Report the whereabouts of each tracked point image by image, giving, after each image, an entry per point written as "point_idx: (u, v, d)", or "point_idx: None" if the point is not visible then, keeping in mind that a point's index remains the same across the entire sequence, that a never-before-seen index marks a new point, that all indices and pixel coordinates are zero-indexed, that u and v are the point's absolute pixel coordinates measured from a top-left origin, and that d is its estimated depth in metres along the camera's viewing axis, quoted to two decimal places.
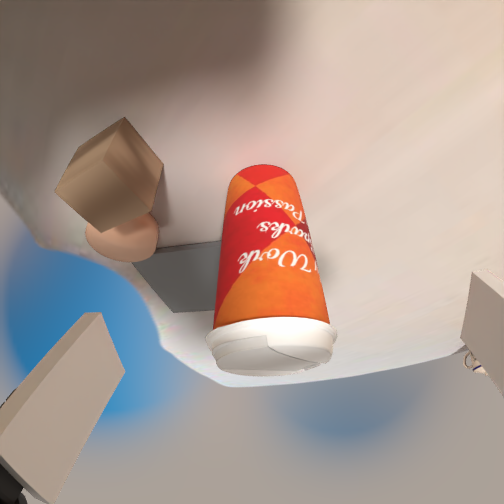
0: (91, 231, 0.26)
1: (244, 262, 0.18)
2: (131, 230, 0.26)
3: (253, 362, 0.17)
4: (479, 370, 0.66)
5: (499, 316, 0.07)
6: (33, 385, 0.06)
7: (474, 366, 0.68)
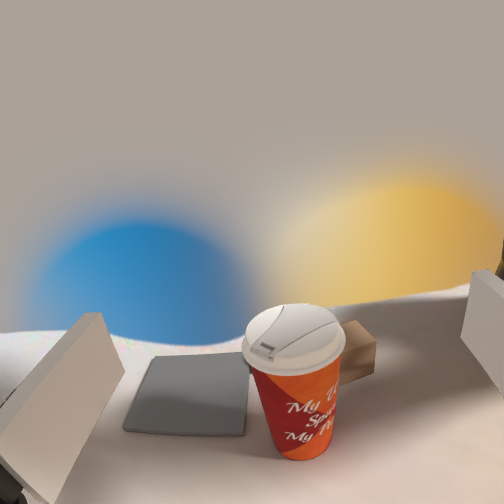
0: None
1: None
2: None
3: (300, 317, 0.23)
4: None
5: (499, 316, 0.07)
6: (33, 385, 0.06)
7: None
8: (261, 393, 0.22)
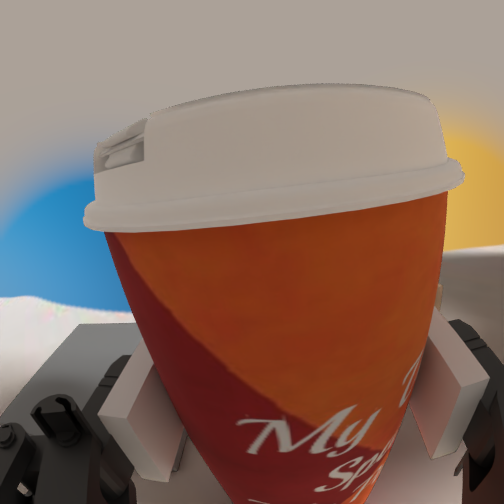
0: None
1: None
2: None
3: None
4: None
5: None
6: None
7: None
8: (158, 372, 0.06)
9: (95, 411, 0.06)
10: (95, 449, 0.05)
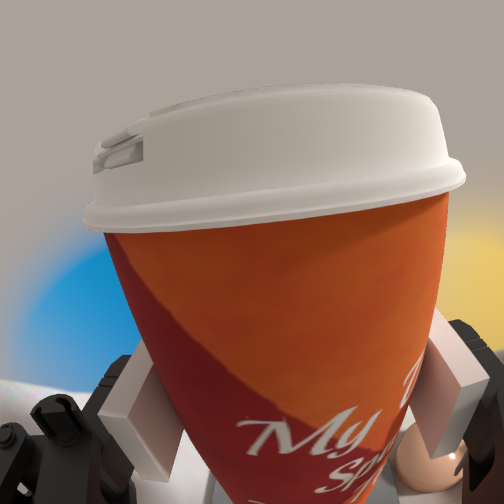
0: None
1: None
2: None
3: None
4: None
5: None
6: None
7: None
8: (158, 373, 0.06)
9: (95, 411, 0.06)
10: (95, 449, 0.05)
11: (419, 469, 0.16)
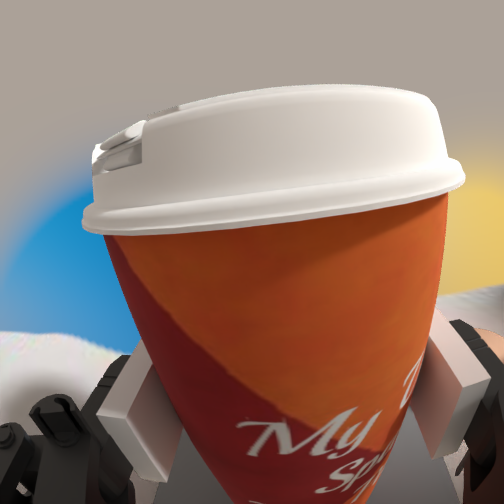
0: None
1: None
2: (488, 342, 0.15)
3: None
4: None
5: None
6: None
7: None
8: (158, 374, 0.06)
9: (94, 412, 0.06)
10: (94, 449, 0.05)
11: None
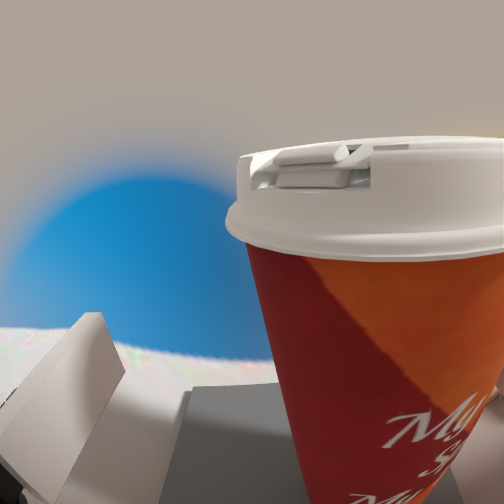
0: None
1: None
2: None
3: (401, 138, 0.07)
4: None
5: None
6: (33, 385, 0.06)
7: None
8: (291, 384, 0.06)
9: None
10: None
11: None
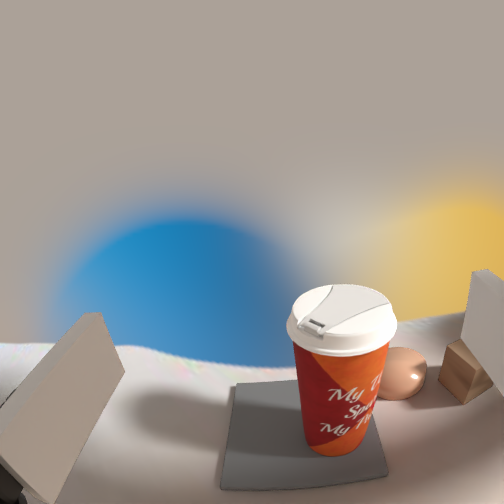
0: None
1: None
2: (390, 354, 0.32)
3: (351, 297, 0.21)
4: None
5: (499, 316, 0.07)
6: (33, 385, 0.06)
7: None
8: (301, 377, 0.21)
9: None
10: None
11: (415, 375, 0.28)
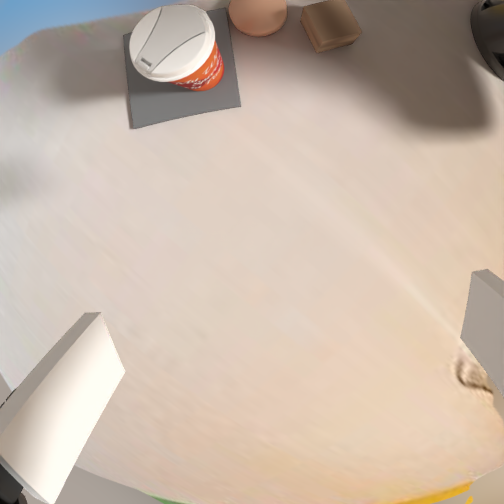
0: (248, 25, 0.30)
1: None
2: (242, 0, 0.29)
3: (174, 25, 0.20)
4: None
5: (499, 316, 0.07)
6: (33, 385, 0.06)
7: None
8: None
9: None
10: None
11: (280, 8, 0.29)
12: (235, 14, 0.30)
